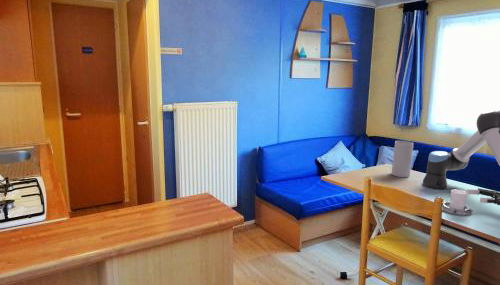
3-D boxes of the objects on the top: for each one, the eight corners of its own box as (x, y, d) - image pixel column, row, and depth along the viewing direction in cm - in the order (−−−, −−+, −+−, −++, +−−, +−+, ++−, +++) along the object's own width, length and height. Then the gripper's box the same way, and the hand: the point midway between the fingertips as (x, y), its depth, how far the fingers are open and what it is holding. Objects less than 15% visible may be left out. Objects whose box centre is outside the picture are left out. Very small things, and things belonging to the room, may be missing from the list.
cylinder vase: (413, 177, 263) (417, 144, 258) (398, 178, 260) (402, 144, 255) (402, 172, 275) (406, 140, 270) (388, 173, 272) (391, 140, 267)
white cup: (465, 212, 194) (467, 195, 192) (448, 209, 198) (451, 192, 196) (464, 208, 201) (467, 191, 199) (448, 205, 205) (451, 188, 203)
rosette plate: (433, 208, 203) (433, 204, 202) (447, 203, 212) (447, 198, 212) (463, 218, 190) (464, 213, 190) (476, 212, 200) (477, 207, 199)
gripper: (527, 212, 186) (485, 210, 188) (498, 196, 211) (461, 194, 212) (530, 199, 185) (487, 197, 186) (500, 184, 209) (463, 182, 210)
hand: (473, 195), depth 199 cm, fingers open, 13 cm apart
